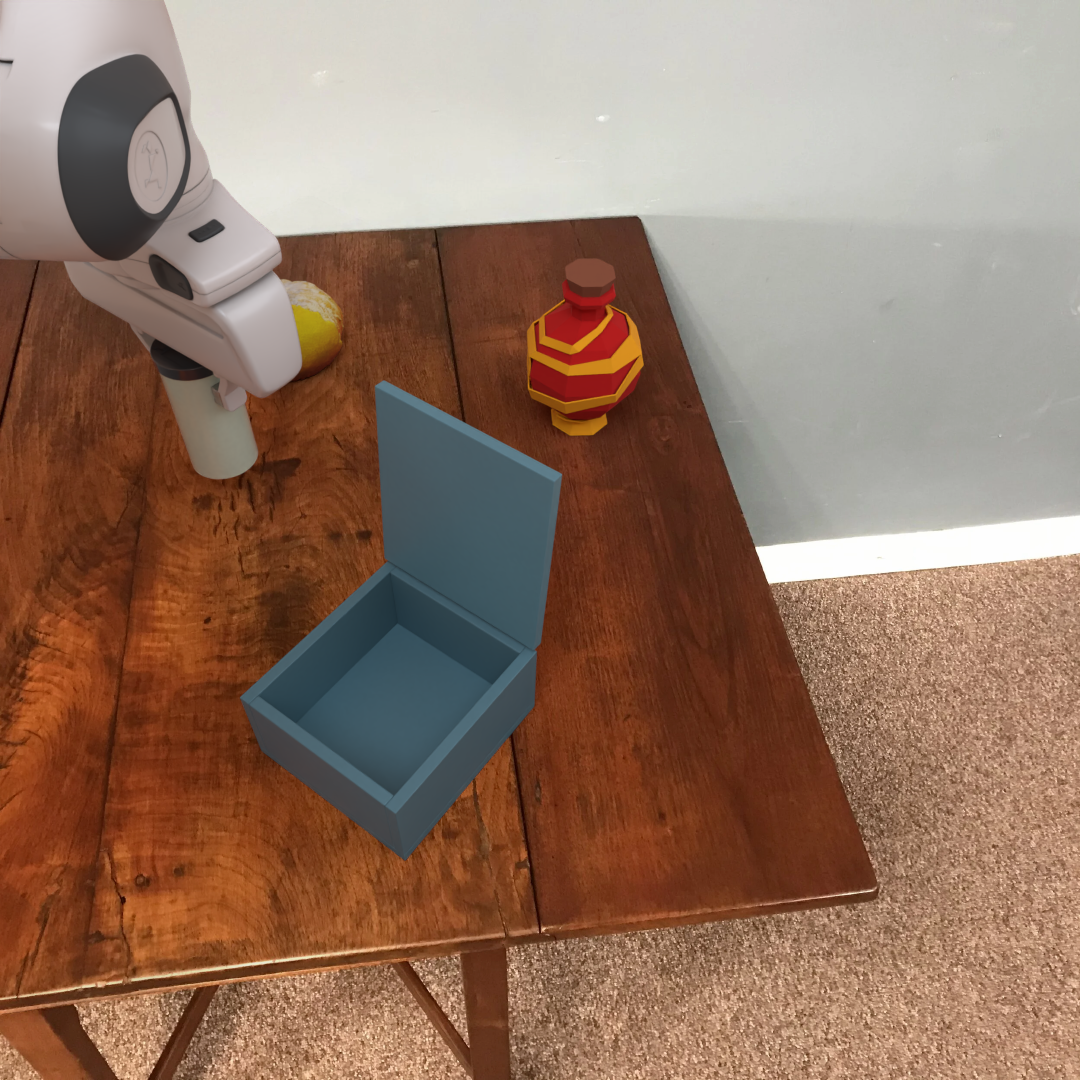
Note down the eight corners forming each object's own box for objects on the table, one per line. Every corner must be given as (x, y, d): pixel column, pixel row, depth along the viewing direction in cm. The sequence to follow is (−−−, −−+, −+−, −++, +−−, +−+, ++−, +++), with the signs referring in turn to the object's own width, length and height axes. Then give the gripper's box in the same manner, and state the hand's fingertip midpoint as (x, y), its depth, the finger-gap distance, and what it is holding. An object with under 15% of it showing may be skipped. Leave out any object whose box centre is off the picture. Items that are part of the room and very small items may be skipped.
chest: (405, 861, 58) (395, 813, 53) (261, 750, 62) (239, 697, 57) (534, 706, 65) (537, 651, 60) (397, 617, 70) (388, 559, 64)
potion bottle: (619, 468, 80) (637, 324, 69) (505, 439, 82) (505, 294, 71) (649, 393, 87) (671, 250, 76) (544, 367, 89) (549, 224, 78)
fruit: (377, 340, 90) (350, 283, 83) (302, 416, 87) (268, 364, 80) (298, 292, 94) (266, 234, 87) (224, 364, 92) (185, 310, 84)
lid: (554, 481, 49) (562, 473, 50) (374, 385, 54) (383, 379, 54) (533, 651, 59) (541, 643, 60) (384, 558, 64) (392, 552, 64)
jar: (185, 483, 73) (144, 372, 65) (193, 435, 77) (155, 323, 68) (258, 478, 74) (226, 367, 65) (262, 430, 77) (232, 319, 69)
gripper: (3, 183, 61) (77, 353, 72) (219, 297, 54) (266, 468, 64) (85, 146, 64) (144, 314, 75) (299, 249, 57) (331, 419, 68)
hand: (202, 386), depth 69 cm, fingers closed on jar, 5 cm apart
